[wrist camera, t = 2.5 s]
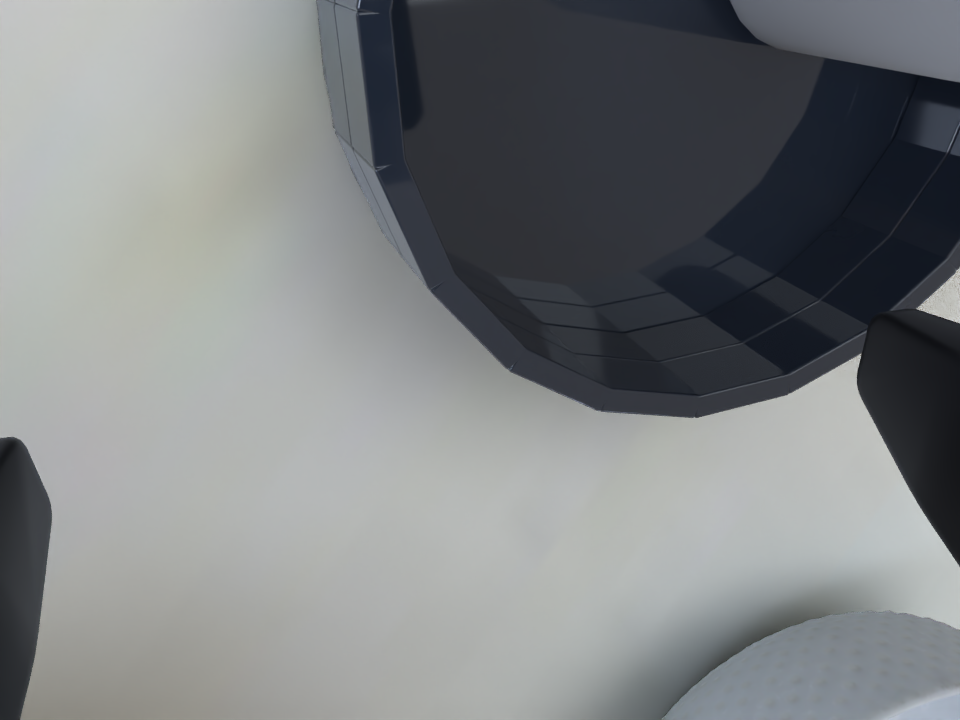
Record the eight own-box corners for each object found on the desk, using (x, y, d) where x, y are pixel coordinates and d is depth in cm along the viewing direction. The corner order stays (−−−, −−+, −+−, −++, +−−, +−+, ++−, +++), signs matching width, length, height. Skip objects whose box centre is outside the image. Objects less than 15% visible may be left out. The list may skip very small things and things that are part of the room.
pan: (706, 424, 26) (792, 499, 22) (178, 172, 18) (188, 228, 14) (1060, -93, 22) (1225, -97, 19) (602, -693, 14) (745, -885, 11)
